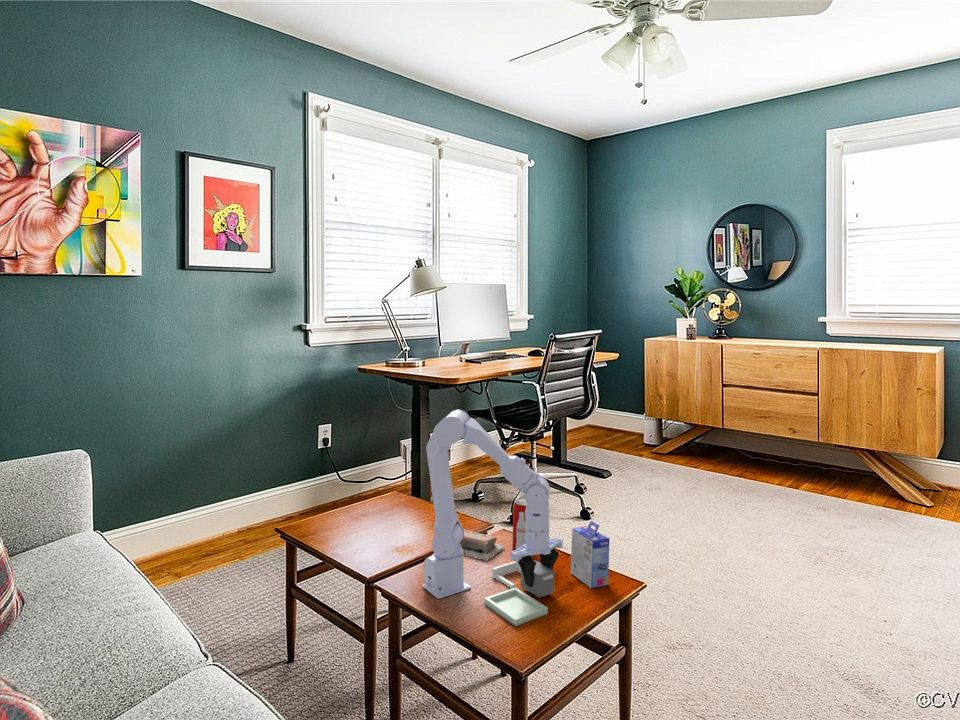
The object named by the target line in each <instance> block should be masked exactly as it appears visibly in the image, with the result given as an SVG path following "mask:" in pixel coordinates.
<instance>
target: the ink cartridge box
mask: <svg viewBox="0 0 960 720" xmlns="http://www.w3.org/2000/svg"><path fill="white" fill-rule="evenodd" d="M591 526H594V528H595V529H594V528H593V527H591ZM599 527H600V525H599V524H598V523H596V522H594V521H592V520H591V521H590V522H589V524H588V526H579V527H575V528H572V529H571V549H570V550H571V553H570V574H571V575H573V576H574V577H576V578H577V579H578V580H579V581H581V582H582V583H583V584H585V585H586V586H587V587H589V588H590V589H593V588H600V587H607V586H609V579H610V578H609V577H610V576H609V574H610V572H609V571H610V570H609V567H610V564H609V563H610V537H608V536H606V535H604V534H603V533H600V531H599Z"/></svg>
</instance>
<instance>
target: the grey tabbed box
mask: <svg viewBox="0 0 960 720" xmlns="http://www.w3.org/2000/svg"><path fill="white" fill-rule="evenodd" d="M534 561H535V562H536V566H535V569H534V580H533V586H532V587H529V586H528V585H526V584H525V580H524V576H523V573H522V570H521V573H520V587H521V588H522V589H524V590H525V591H527V592H529V593H530V594H533V595H534V596H535V597H536V598H539V599H540V598H542V597H546V596H548V595H551V594H553V593H555V569H550V568H548V567H547V566H545V565H543V564H541V562H539V561H537V560H536V559H535V560H534Z"/></svg>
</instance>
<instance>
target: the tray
mask: <svg viewBox="0 0 960 720" xmlns="http://www.w3.org/2000/svg"><path fill="white" fill-rule="evenodd" d="M484 605H485V606H486V607H487V608H489V609H490V610H492V611H493V612H494V613H496V614H497V615H499V616H500V617H502V618H503V619H504V620H506V621H507V623H510V624H511V625H513V626H514V627H518V626H520V625H523V624H526V623H528V622H531V621H533V620H535V619H539V618H541V617H543V616H547V615H548V613H549V612H548V611H549V608H548V606H546V605H544V604H542V602H540V601H538V600H536V599H534V598H533V597H531V596H530V595H529V594H527V593H525V592H524V591H523V590H520V589H519V588H517V587H516V586H515V588H512V589H511V588H509V589H506V590H503V591H501V592H497V593H495V594H492V595H488V596H486V597H484Z"/></svg>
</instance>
